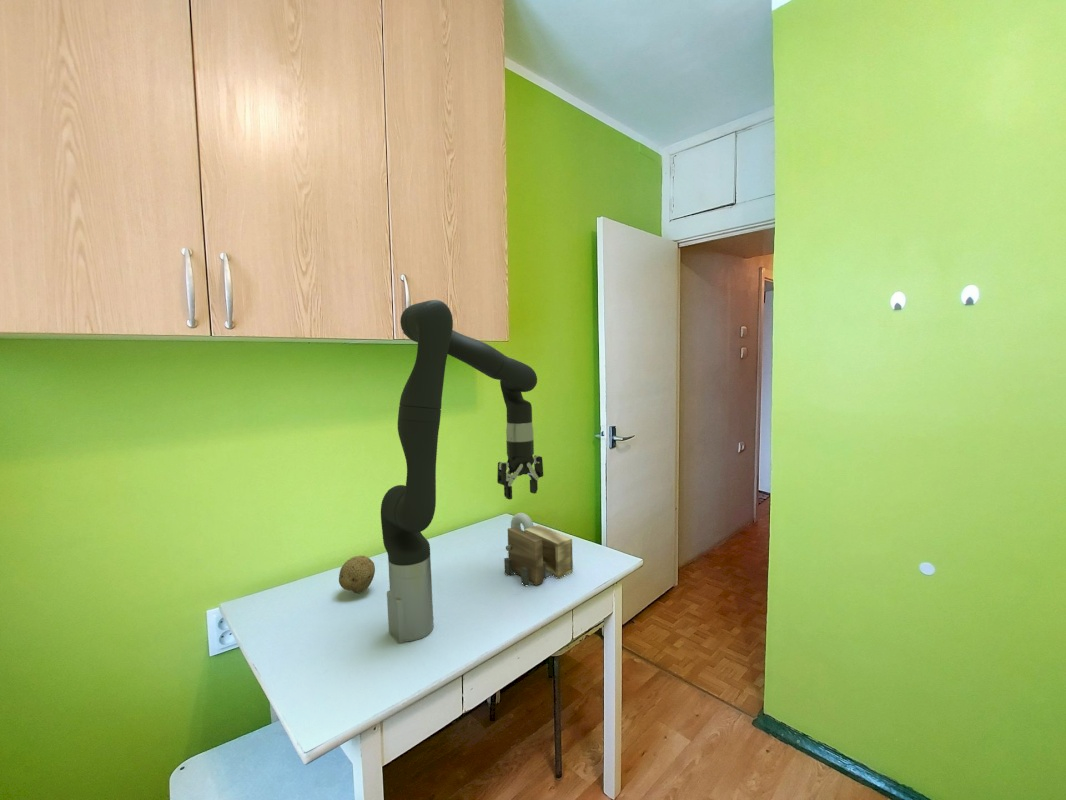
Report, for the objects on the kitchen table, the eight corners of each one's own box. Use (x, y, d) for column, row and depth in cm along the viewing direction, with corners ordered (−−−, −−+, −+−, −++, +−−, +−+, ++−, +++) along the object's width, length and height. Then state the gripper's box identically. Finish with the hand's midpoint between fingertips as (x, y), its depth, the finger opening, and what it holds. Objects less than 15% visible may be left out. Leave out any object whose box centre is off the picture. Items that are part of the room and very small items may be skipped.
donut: (536, 544, 153) (536, 515, 152) (529, 547, 151) (528, 517, 150) (516, 536, 160) (515, 508, 160) (509, 539, 158) (508, 511, 157)
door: (532, 586, 124) (530, 543, 123) (504, 570, 134) (503, 529, 133) (543, 582, 126) (542, 539, 125) (515, 566, 136) (514, 526, 135)
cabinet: (531, 589, 123) (530, 553, 122) (499, 570, 135) (498, 537, 134) (572, 572, 132) (572, 538, 132) (539, 556, 144) (538, 524, 143)
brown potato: (354, 605, 117) (351, 567, 117) (332, 596, 122) (330, 559, 121) (382, 589, 125) (380, 554, 124) (361, 582, 130) (359, 547, 129)
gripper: (506, 443, 120) (508, 504, 122) (548, 436, 129) (549, 493, 131) (490, 440, 126) (492, 498, 128) (531, 434, 135) (533, 488, 136)
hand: (521, 495), depth 129 cm, fingers open, 8 cm apart
